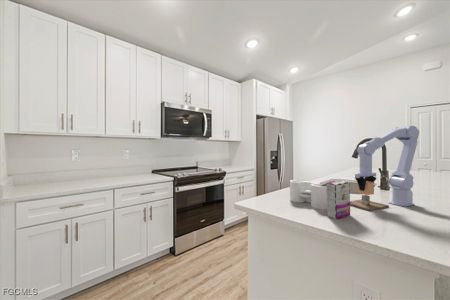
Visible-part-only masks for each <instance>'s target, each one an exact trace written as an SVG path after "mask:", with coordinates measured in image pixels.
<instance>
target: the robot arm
mask: <svg viewBox="0 0 450 300" xmlns="http://www.w3.org/2000/svg"><path fill="white" fill-rule="evenodd" d="M419 135H420V130H419V128H418V127H417V126H415V125H409V126H400V127H399V126H397V127H395V128H392V129H391V130H390V131H389V132H388V133H385V134H384V135H382V136H380V137H379V136H375V137H373V138H372V139H370V140H369V141H366V142H365V144H360V145H359V146H358V147H357V149H356V152H357V153H358V156H359V157H358V158H359V173H354V179H355V181H356V183H357V185H359V188H360V190H362V191H364V190H365V184H366V181H370V182H374V183H375V181H376V180H377V172H373V155H374V153H375V152H376V151H377V150H378V149H380V148H382V147H384V146H385V144H386V143H387V142H388V141H390V140H393V139H395V138H396V140H398V141H399V142H401V143H402V144H403V146H402V150H401V153H400V158H399V161H398V165H397V168H396V170H395V171H394V172H392V173H391V176H389V178H388V184H389V185H390V187H391V189H392V191H391V192H392V194H391V195H392V197H391V199H392V201H388V203H389V204H392V205H396V206H400V207H408V206H415V203H414V201H413V200H414V198H413V195H414V194H413V191H412V190H411V189H412V188H413V186H414V176H413V175H412V174H411V172H410V171H411V167H412V164H413V161H414V158H415V157H414V156H415V153H416V150H417V147H418V139H419Z"/></svg>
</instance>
